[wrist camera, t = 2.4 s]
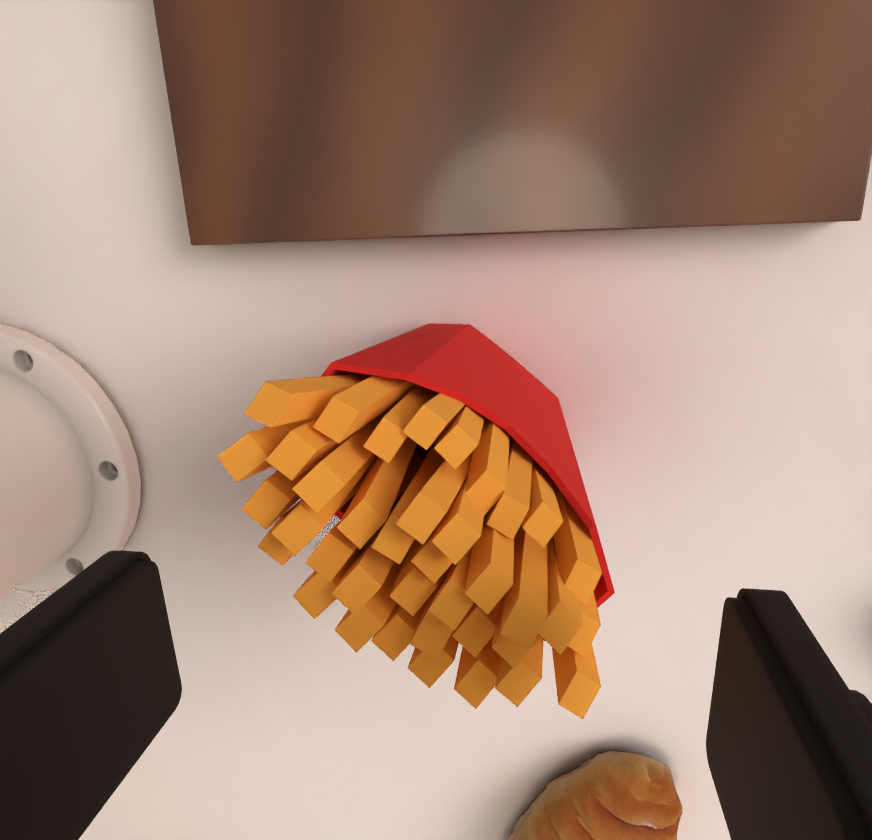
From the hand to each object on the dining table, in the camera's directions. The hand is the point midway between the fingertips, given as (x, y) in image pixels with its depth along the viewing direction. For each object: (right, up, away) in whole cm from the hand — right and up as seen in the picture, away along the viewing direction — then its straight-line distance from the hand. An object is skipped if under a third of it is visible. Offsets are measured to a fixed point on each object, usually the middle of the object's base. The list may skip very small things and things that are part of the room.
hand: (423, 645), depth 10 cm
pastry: (+8, -15, +20) cm, 26 cm away
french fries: (+2, +5, +14) cm, 15 cm away
